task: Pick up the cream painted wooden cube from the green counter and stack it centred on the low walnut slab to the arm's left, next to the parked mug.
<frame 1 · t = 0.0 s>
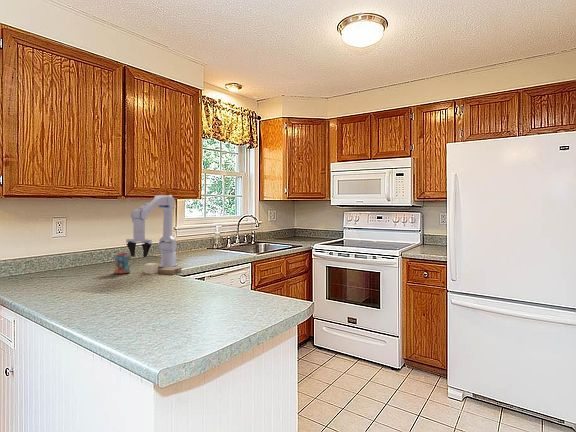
hand: (139, 256, 197), 10 cm above the worktop, fingers open, 7 cm apart
cube: (151, 272, 204), on the worktop
base slab: (170, 272, 205), on the worktop
mug: (125, 273, 203), on the worktop
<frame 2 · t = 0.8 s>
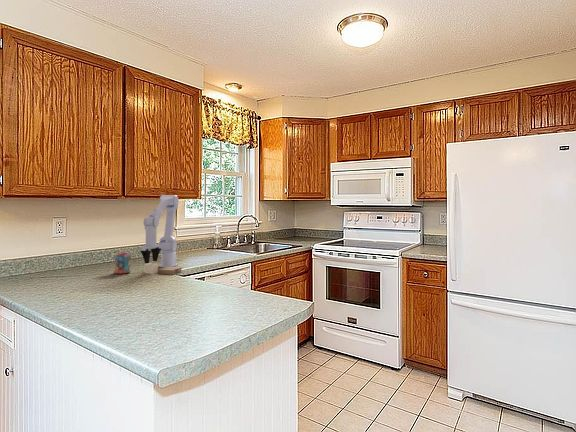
hand: (151, 262, 204), 6 cm above the worktop, fingers open, 7 cm apart
nothing on the worktop moved.
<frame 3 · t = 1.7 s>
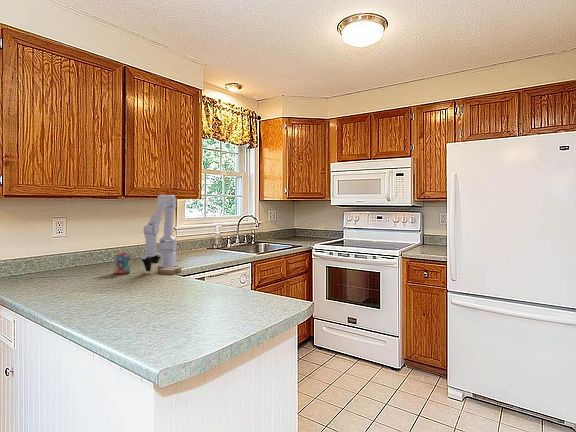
hand: (151, 270, 204), 1 cm above the worktop, fingers closed on cube, 5 cm apart
cube: (151, 272, 204), on the worktop, touching gripper
everything else where it was.
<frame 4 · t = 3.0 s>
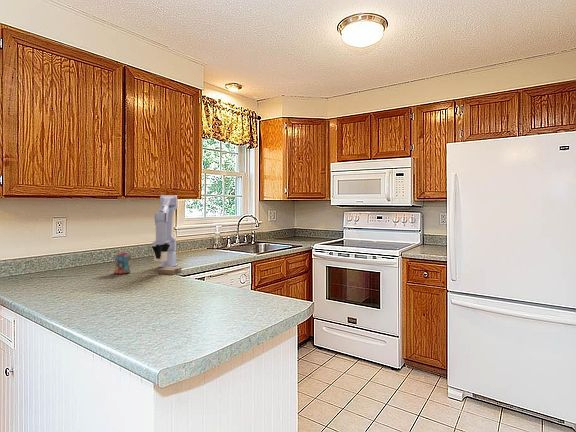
hand: (161, 257, 204), 8 cm above the worktop, fingers closed on cube, 5 cm apart
cube: (160, 260, 205), point 7 cm above the worktop, touching gripper
everything else where it was.
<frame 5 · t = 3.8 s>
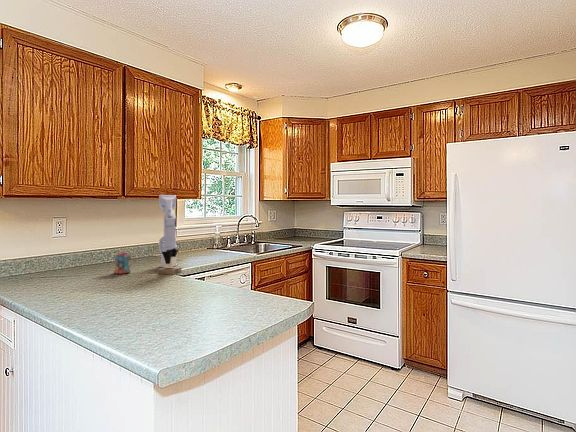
hand: (170, 262, 205), 6 cm above the worktop, fingers closed on cube, 5 cm apart
cube: (169, 266, 205), point 4 cm above the worktop, touching gripper
everything else where it was.
when the fingers open (5 cm above the worktop, at t = 4.3 s): cube drops 1 cm, resting on base slab.
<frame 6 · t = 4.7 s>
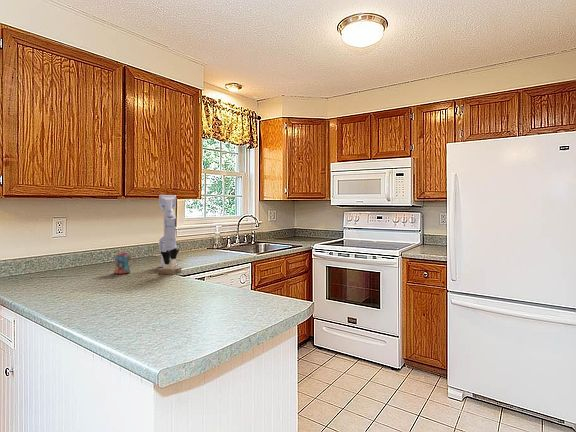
hand: (170, 263, 205), 5 cm above the worktop, fingers open, 7 cm apart
cube: (169, 268, 205), point 2 cm above the worktop, touching base slab
everything else where it was.
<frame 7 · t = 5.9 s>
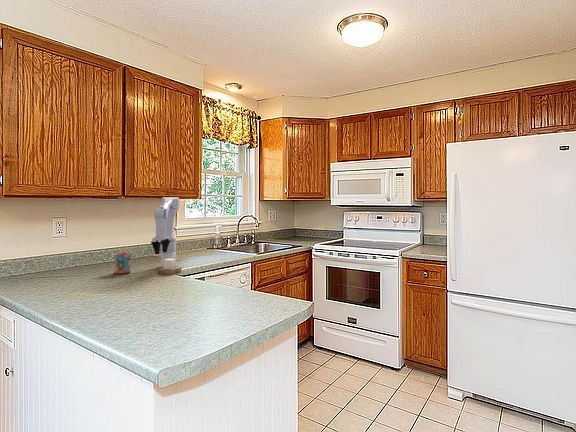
hand: (161, 253, 208), 10 cm above the worktop, fingers open, 7 cm apart
nothing on the worktop moved.
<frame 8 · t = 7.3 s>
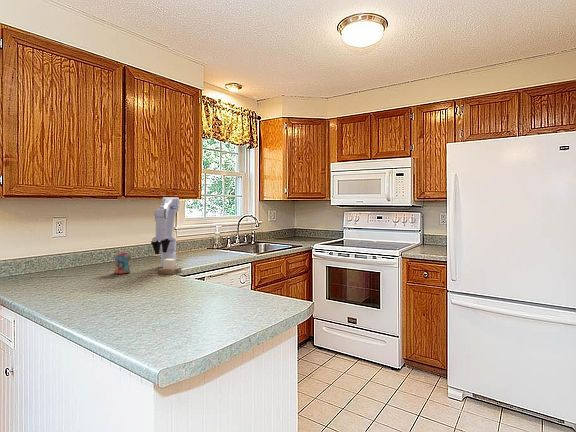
hand: (160, 253, 208), 10 cm above the worktop, fingers open, 7 cm apart
nothing on the worktop moved.
at the end: cube inside the target area on the base slab (0.3 cm from its centre), point 2.5 cm above the base slab's base; cube tilted 0°; the gripper is holding nothing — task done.
